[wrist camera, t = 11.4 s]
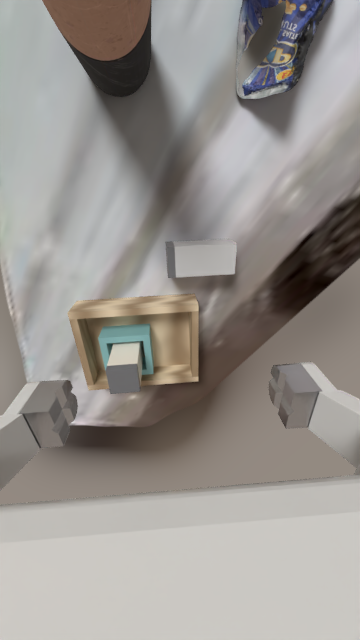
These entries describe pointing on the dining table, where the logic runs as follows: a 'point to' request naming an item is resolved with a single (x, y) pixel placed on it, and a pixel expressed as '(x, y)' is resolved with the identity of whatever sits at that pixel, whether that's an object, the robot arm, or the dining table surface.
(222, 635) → the robot arm
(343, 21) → the dining table surface
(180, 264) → the grey plug
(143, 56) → the travel mug
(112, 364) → the ivory connector
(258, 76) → the snack package
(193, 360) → the birch crate
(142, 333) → the teal socket
